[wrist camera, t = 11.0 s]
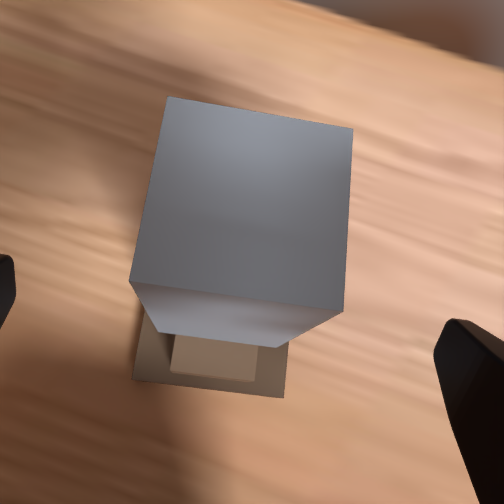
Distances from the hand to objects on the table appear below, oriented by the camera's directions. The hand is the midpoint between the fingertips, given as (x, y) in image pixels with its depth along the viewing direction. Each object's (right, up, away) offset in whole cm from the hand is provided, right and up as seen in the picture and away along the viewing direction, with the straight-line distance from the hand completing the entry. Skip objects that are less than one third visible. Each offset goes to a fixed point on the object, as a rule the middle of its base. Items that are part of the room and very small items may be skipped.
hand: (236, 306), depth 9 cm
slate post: (-1, 0, +10) cm, 10 cm away
